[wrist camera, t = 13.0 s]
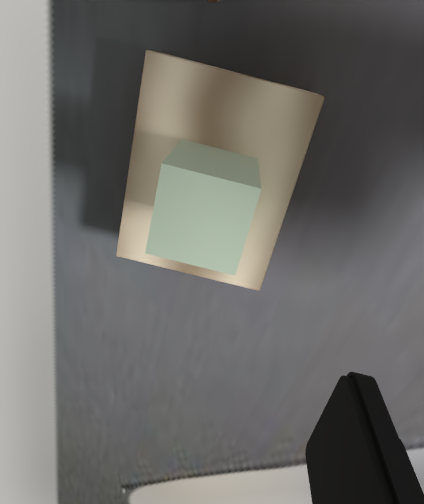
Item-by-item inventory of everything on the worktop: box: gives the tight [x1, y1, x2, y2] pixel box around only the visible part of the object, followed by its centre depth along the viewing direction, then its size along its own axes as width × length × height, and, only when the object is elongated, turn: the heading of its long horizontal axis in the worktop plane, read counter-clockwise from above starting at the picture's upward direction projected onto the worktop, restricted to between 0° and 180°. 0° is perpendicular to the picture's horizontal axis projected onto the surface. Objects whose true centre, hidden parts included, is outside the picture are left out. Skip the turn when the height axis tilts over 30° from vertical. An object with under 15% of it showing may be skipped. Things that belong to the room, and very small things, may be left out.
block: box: [145, 139, 261, 276], centre depth 24 cm, size 5×5×7 cm
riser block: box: [116, 50, 325, 291], centre depth 29 cm, size 11×14×4 cm
